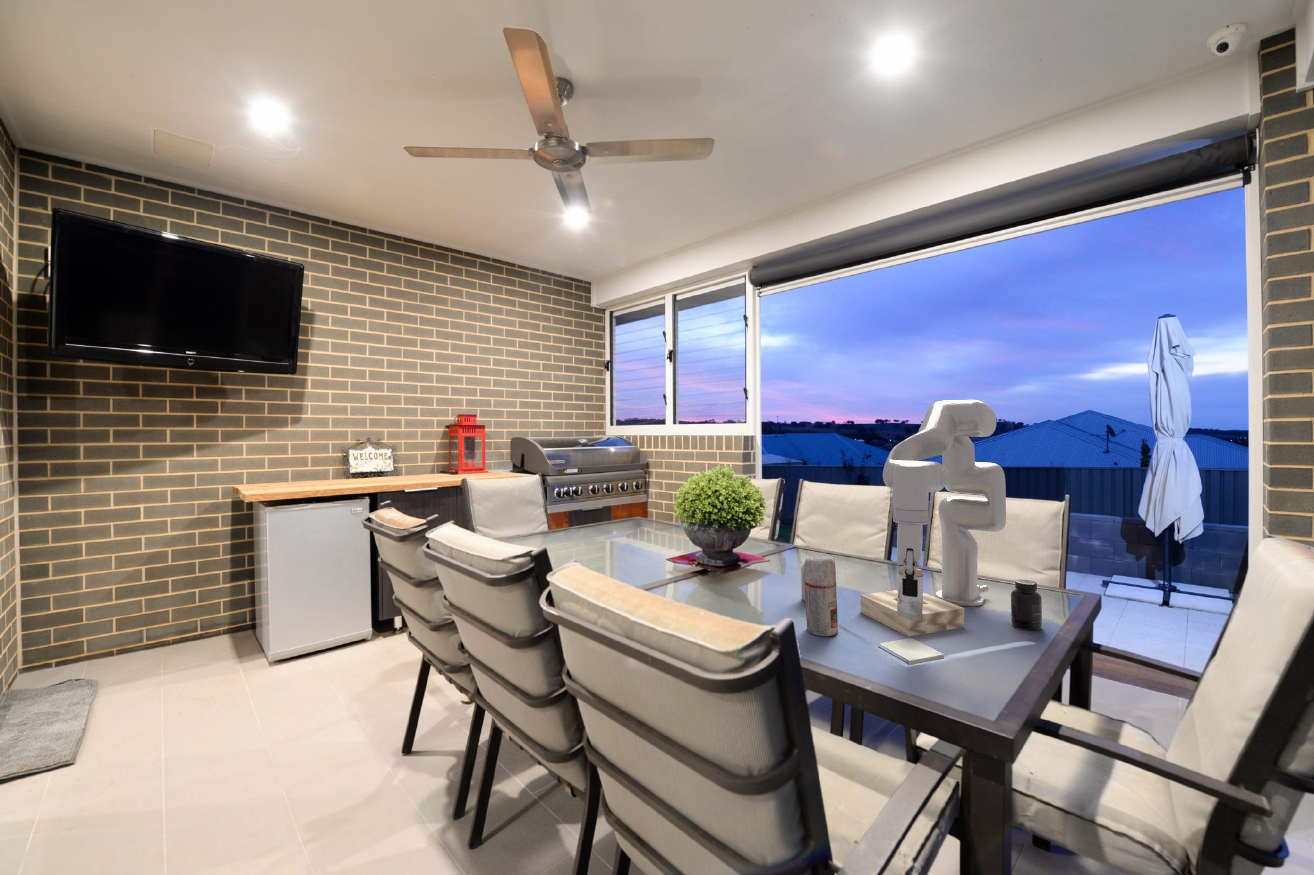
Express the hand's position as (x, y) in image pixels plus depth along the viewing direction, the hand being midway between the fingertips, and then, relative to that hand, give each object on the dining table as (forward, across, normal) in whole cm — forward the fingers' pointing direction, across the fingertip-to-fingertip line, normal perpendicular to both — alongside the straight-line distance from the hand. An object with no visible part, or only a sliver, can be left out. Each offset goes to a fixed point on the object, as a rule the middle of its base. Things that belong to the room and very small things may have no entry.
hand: (910, 591), depth 126 cm
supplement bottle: (+15, -31, +27) cm, 44 cm away
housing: (+15, -21, -1) cm, 25 cm away
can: (+15, -28, -28) cm, 42 cm away
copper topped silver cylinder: (+6, 0, 0) cm, 6 cm away
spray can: (+15, -4, -21) cm, 26 cm away
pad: (+15, 0, 0) cm, 15 cm away
